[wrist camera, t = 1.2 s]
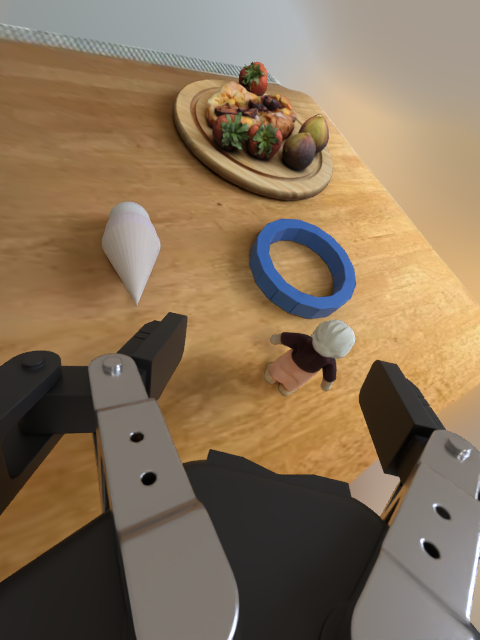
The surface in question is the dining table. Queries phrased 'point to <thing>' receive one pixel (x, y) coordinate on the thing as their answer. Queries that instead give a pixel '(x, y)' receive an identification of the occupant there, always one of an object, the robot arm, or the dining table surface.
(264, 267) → the tape ring
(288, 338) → the grandmother figurine
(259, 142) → the wooden plate
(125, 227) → the ice cream cone
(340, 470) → the dining table surface
